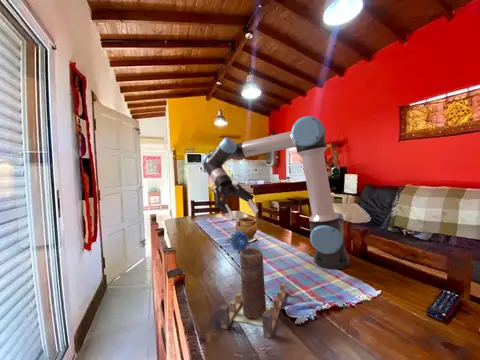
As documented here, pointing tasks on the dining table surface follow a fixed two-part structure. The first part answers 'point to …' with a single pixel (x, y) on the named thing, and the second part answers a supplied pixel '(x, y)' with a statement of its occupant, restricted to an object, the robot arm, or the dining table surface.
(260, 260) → the brown tall cylinder
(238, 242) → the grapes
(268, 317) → the comb lane
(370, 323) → the dining table surface
